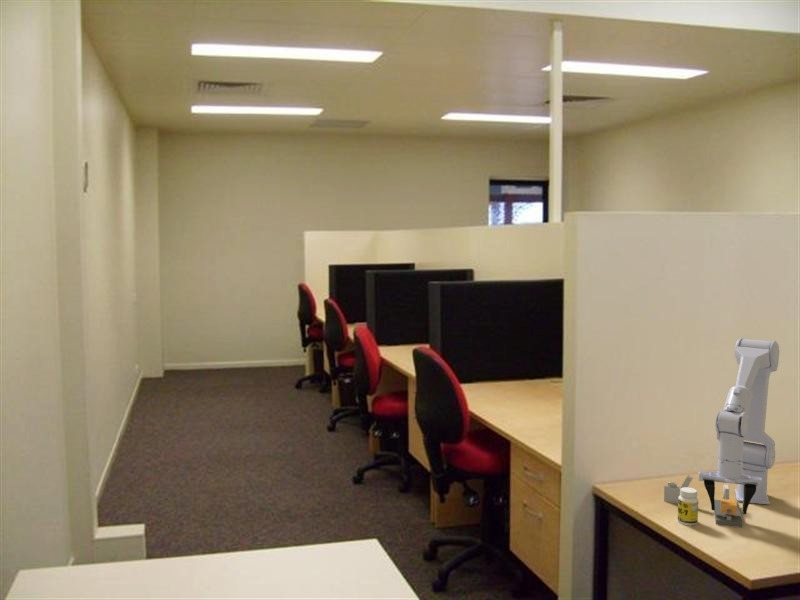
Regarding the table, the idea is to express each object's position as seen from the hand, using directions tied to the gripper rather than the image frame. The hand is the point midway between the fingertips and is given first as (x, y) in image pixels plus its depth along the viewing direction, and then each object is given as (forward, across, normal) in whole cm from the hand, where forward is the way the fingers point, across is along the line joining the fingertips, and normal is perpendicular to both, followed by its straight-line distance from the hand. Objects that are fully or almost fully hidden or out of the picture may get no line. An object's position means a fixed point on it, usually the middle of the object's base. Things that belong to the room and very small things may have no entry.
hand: (728, 510), depth 189 cm
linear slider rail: (+3, 0, +4) cm, 5 cm away
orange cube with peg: (0, 0, -1) cm, 1 cm away
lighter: (+3, -12, +9) cm, 15 cm away
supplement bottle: (+3, -10, -4) cm, 11 cm away
